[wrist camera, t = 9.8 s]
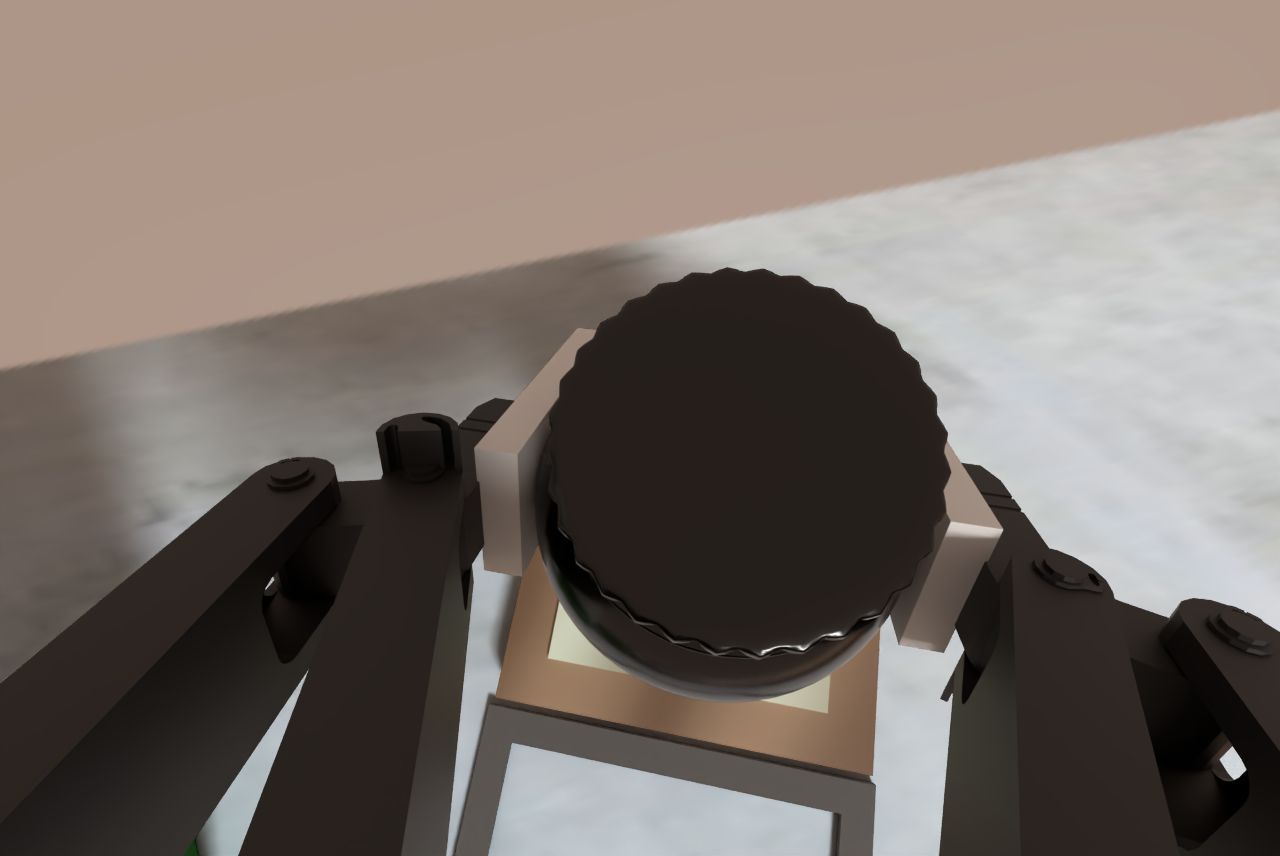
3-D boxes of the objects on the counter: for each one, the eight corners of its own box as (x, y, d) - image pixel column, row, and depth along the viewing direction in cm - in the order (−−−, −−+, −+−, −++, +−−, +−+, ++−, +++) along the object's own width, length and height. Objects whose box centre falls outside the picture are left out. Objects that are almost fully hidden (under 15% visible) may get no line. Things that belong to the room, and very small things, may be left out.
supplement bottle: (786, 425, 19) (950, 162, 8) (832, 640, 17) (1153, 726, 5) (586, 454, 19) (450, 237, 8) (608, 669, 17) (465, 811, 6)
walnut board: (508, 690, 20) (493, 698, 18) (576, 377, 23) (569, 360, 22) (857, 761, 18) (875, 778, 17) (877, 418, 22) (893, 403, 20)
